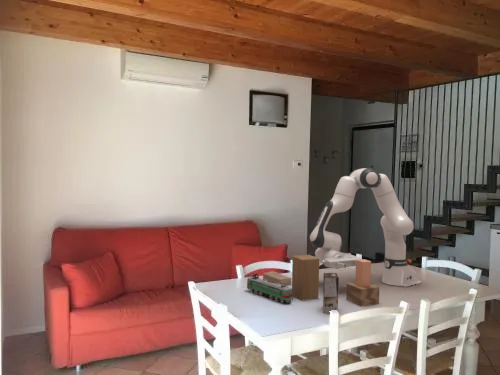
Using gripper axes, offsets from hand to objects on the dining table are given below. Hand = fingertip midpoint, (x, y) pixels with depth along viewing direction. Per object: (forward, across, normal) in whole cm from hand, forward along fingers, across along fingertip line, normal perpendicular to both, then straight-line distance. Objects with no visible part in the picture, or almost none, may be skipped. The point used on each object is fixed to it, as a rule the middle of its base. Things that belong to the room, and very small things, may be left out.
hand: (352, 265), depth 216 cm
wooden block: (-9, -22, +16) cm, 29 cm away
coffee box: (+13, -22, +16) cm, 30 cm away
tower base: (+8, 0, +16) cm, 18 cm away
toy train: (-15, -39, +16) cm, 45 cm away
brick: (-37, -23, +16) cm, 47 cm away
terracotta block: (+8, 0, +8) cm, 12 cm away
